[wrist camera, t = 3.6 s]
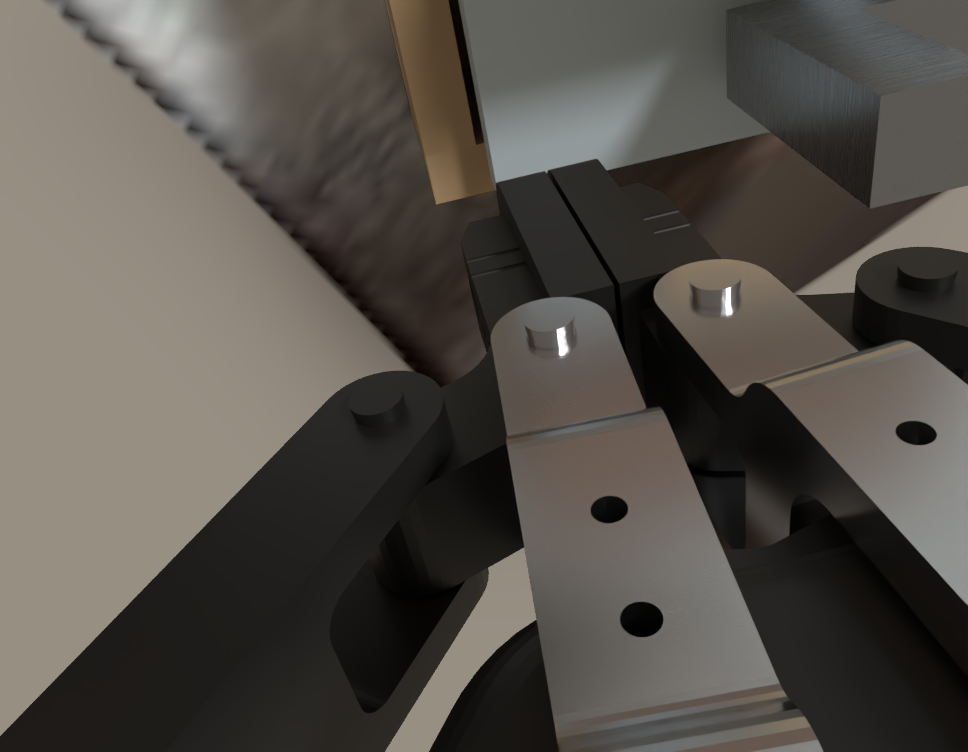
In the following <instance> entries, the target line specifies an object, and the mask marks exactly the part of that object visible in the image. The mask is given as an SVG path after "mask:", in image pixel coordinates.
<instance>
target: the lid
mask: <svg viewBox="0 0 968 752" xmlns="http://www.w3.org/2000/svg"><path fill="white" fill-rule="evenodd" d="M761 1H766V0H458V2H459V8H460V13H461V19H462V24H463V29H464V35H465V40H466V46H467V51H468V56H469V62H470V67H471V73H472V78H473V83H474V89H475V94H476V100H477V105H478V111H479V116H480V121H481V127H482V132H483V138H484V143H485V148H486V154H487V159H488V165H489V170H490V176H491V180H492V182H493V185H494V187H495V189H496V183H497V182H500V181H505V180H509V179H513V178H517V177H521V176H526V175H530V174H534V173H538V172H543V171H545V172H546V173H547V171H548V170H550V169H555V168H559V167H563V166H567V165H572V164H576V163H580V162H584V161H588V160H593V159H598V160H599V161H600V162H601V164H602V165H603V166H604V168H605V169H606V170H611V169H615V168H619V167H623V166H628V165H632V164H636V163H640V162H645V161H649V160H653V159H657V158H661V157H666V156H670V155H674V154H678V153H683V152H687V151H691V150H695V149H700V148H704V147H708V146H712V145H717V144H721V143H725V142H729V141H734V140H738V139H742V138H746V137H751V136H755V135H759V134H763V133H768V132H770V131H769V130H767V129H766V128H765V127H764V126H762V125H761V124H760V123H758V122H757V121H756V120H754V119H753V118H752V117H751V116H749V115H748V114H747V113H745V112H744V111H743V110H742V109H740V108H739V107H738V106H736V105H735V104H734V103H733V102H731V101H730V100H729V99H727V69H726V10H727V9H731V8H735V7H740V6H744V5H748V4H753V3H757V2H761ZM496 192H497V191H496Z"/></svg>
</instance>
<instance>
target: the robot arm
mask: <svg viewBox="0 0 968 752" xmlns="http://www.w3.org/2000/svg"><path fill="white" fill-rule="evenodd" d="M496 191H497V199H498V204H499V210H500V216H496V217H492V218H488V219H484V220H479V221H475V222H471V223H469V225H468V227H467V229H466V232H465V234H464V236H463V238H462V240H461V246H462V251H463V255H464V260H465V264H466V269H467V274H468V278H469V283H470V288H471V292H472V297H473V301H474V306H475V311H476V315H477V320H478V324H479V329H480V332H481V336H482V339H483V342H484V345H485V348H486V352H487V354H486V355H485V357H484V358H483V360H482V361H481V362H480V363H479V364H478V365H477V366H476V367H475V368H474V369H473V370H472V371H470V372H469V373H467V374H466V375H464V376H463V377H461V378H460V379H458V380H456V381H454V382H452V383H450V384H448V385H446V386H444V387H442V388H440V387H439V385H438V384H437V383H436V382H435V381H434V380H432V379H431V378H429V377H427V376H425V375H423V374H420V373H416V372H410V371H389V372H382V373H377V374H373V375H370V376H366V377H363V378H361V379H359V380H356V381H354V382H352V383H350V384H349V385H346V386H345V387H343V388H342V389H340V390H339V391H337V392H336V393H335V394H334V395H333V396H332V397H330V398H329V399H328V400H327V402H325V403H324V405H322V407H321V408H320V409H319V410H318V411H317V412H316V413H315V414H314V415H313V416H312V417H311V418H310V419H309V420H308V421H307V422H306V423H305V424H304V425H303V426H302V427H301V428H300V429H299V430H298V431H297V432H296V433H295V434H294V435H293V436H292V437H291V438H290V439H289V440H288V441H287V442H286V443H285V444H284V446H283V447H282V448H281V449H280V450H279V451H278V452H277V453H276V454H275V455H274V456H273V457H272V458H271V459H270V460H269V461H268V462H267V463H266V464H265V465H264V466H263V467H262V468H261V469H260V470H259V471H258V472H257V473H256V474H255V475H254V476H253V477H252V478H251V479H250V480H249V481H248V483H246V485H245V486H244V487H243V488H242V489H241V490H240V491H239V492H238V493H237V494H236V495H235V496H234V497H233V498H232V499H231V500H230V501H229V502H228V503H227V504H226V505H225V506H224V507H223V508H222V509H221V510H220V511H219V512H218V513H217V514H216V515H215V516H214V517H213V518H212V519H211V521H209V522H208V524H207V525H206V526H205V527H204V528H203V529H202V530H201V531H200V532H199V533H198V534H197V535H196V536H195V537H194V538H193V539H192V540H191V541H190V542H189V543H188V544H187V545H186V546H185V547H184V548H183V549H182V550H181V551H180V552H179V553H178V554H177V555H176V557H174V558H173V559H172V561H171V562H170V563H169V564H168V565H167V566H166V567H165V568H164V569H163V570H162V571H161V572H160V573H159V574H158V575H157V576H156V577H155V578H154V579H153V580H152V581H151V582H150V583H149V584H148V585H147V586H146V587H145V588H144V589H143V590H142V592H140V593H139V594H138V595H137V597H135V598H134V599H133V600H132V602H131V603H130V604H129V605H128V606H127V607H126V608H125V609H124V610H123V611H122V612H121V613H120V614H119V615H118V616H117V617H116V618H115V619H114V620H113V621H112V622H111V623H110V624H109V625H108V626H107V627H106V628H105V629H104V630H103V631H102V632H101V633H100V634H99V635H98V637H96V638H95V640H94V641H93V642H92V643H91V644H90V645H89V646H88V647H87V648H86V649H85V650H84V651H83V652H82V653H81V654H80V655H79V656H78V657H77V658H76V659H75V660H74V661H73V662H72V663H71V664H70V665H69V666H68V667H67V668H66V669H65V670H64V671H63V672H62V673H61V674H60V675H59V676H58V677H57V679H56V680H55V681H54V682H53V683H52V684H51V685H50V686H49V687H48V688H47V689H46V690H45V691H44V692H43V693H42V694H41V695H40V696H39V697H38V698H37V699H36V700H35V701H34V702H33V703H32V704H31V705H30V706H29V707H28V708H27V709H26V710H25V711H24V712H23V714H21V715H20V716H19V718H18V719H17V720H16V721H15V722H14V723H13V724H12V725H11V726H10V727H9V728H8V729H7V730H6V731H5V732H4V733H3V734H2V735H1V736H0V752H385V750H386V749H387V747H388V745H389V744H390V742H391V741H392V739H393V738H394V736H395V734H396V733H397V731H398V730H399V728H400V726H401V725H402V723H403V721H404V720H405V718H406V717H407V715H408V713H409V712H410V710H411V709H412V707H413V705H414V704H415V702H416V700H417V699H418V697H419V696H420V694H421V693H422V691H423V689H424V688H425V686H426V685H427V683H428V681H429V680H430V678H431V676H432V675H433V673H434V672H435V670H436V669H437V667H438V665H439V664H440V662H441V660H442V659H443V657H444V656H445V654H446V652H447V651H448V649H449V648H450V646H451V644H452V643H453V641H454V640H455V638H456V636H457V635H458V633H459V631H460V630H461V628H462V627H463V625H464V624H465V622H466V620H467V618H468V617H469V616H470V614H471V612H472V611H473V609H474V607H475V606H476V604H477V603H478V601H479V600H480V598H481V596H482V595H483V592H484V591H485V588H486V586H487V582H488V574H489V572H488V567H490V566H492V565H493V564H495V563H497V562H499V561H500V560H502V559H504V558H506V557H508V556H509V555H511V554H513V553H515V552H516V551H518V550H520V549H522V548H525V554H526V559H527V565H528V572H529V578H530V583H531V590H532V595H533V601H534V607H535V613H536V619H537V620H535V621H534V622H532V623H531V624H529V625H528V626H526V627H525V628H523V629H522V630H520V631H519V632H517V633H516V634H515V635H514V636H512V637H511V638H510V639H509V640H508V641H507V642H505V643H504V644H503V645H502V646H501V647H500V648H498V649H497V650H496V651H495V653H493V655H492V656H491V657H490V658H489V659H488V660H487V661H486V662H485V663H484V664H483V665H482V666H481V667H480V669H479V670H478V671H477V672H476V674H475V675H474V676H473V678H472V679H471V681H470V682H469V683H468V685H467V686H466V687H465V689H464V690H463V692H462V693H461V695H460V696H459V698H458V700H457V701H456V703H455V705H454V707H453V708H452V710H451V712H450V714H449V716H448V717H447V719H446V721H445V723H444V725H443V727H442V729H441V731H440V732H439V734H438V736H437V738H436V740H435V741H434V743H433V745H432V747H431V749H430V751H429V752H968V253H965V252H960V251H955V250H950V249H943V248H934V247H909V248H901V249H895V250H890V251H887V252H883V253H881V254H878V255H876V256H874V257H872V258H870V259H868V260H867V261H866V262H864V263H863V264H862V265H861V266H860V268H859V269H858V271H857V275H856V284H855V293H842V294H841V293H839V294H821V295H820V294H819V295H795V294H793V293H792V292H791V291H790V290H789V289H788V288H787V287H785V286H784V285H783V284H782V283H781V282H780V281H779V280H778V279H776V278H775V277H774V276H773V275H772V274H771V273H769V272H768V271H766V270H765V269H763V268H761V267H759V266H757V265H754V264H751V263H748V262H743V261H738V260H729V259H721V258H720V257H719V256H718V254H717V253H716V252H715V251H714V250H713V249H712V247H711V246H710V245H709V244H708V243H707V242H706V240H705V239H704V238H703V237H702V236H701V235H700V233H699V232H698V231H697V230H696V229H695V228H694V226H693V225H692V226H690V222H689V221H688V219H687V218H686V217H685V216H684V215H683V214H682V212H680V213H679V209H678V208H677V207H676V205H675V204H674V203H673V202H672V201H671V200H670V199H669V197H668V196H667V195H666V194H665V193H663V192H661V191H659V190H656V189H654V188H651V187H649V186H646V185H644V184H642V183H639V182H638V183H634V184H630V185H626V186H622V187H619V186H618V185H617V184H616V182H615V181H614V180H613V178H612V177H611V176H610V174H609V173H608V172H607V170H606V169H605V168H604V166H603V165H602V164H601V162H600V161H599V160H598V159H593V160H588V161H584V162H580V163H576V164H572V165H567V166H563V167H559V168H555V169H550V170H548V171H547V173H546V172H545V171H543V172H538V173H534V174H530V175H526V176H521V177H517V178H513V179H509V180H505V181H500V182H497V183H496Z"/></svg>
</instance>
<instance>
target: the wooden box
mask: <svg viewBox="0 0 968 752" xmlns="http://www.w3.org/2000/svg"><path fill="white" fill-rule="evenodd" d="M385 3H386V7H387V12H388V16H389V20H390V24H391V29H392V33H393V37H394V42H395V46H396V50H397V55H398V59H399V63H400V67H401V72H402V76H403V80H404V85H405V89H406V93H407V97H408V102H409V106H410V110H411V114H412V118H413V122H414V125H415V129H416V132H417V136H418V140H419V143H420V147H421V151H422V154H423V158H424V162H425V165H426V169H427V173H428V176H429V180H430V184H431V187H432V191H433V194H434V198H435V202H436V204H440V203H444V202H449V201H453V200H457V199H461V198H466V197H470V196H474V195H478V194H483V193H487V192H491V191H495V190H496V189H495V187H494V185H493V182H492V180H491V176H490V170H489V165H488V159H487V154H486V148H485V143H484V138H483V132H482V127H481V121H480V116H479V111H478V105H477V100H476V94H475V89H474V83H473V78H472V73H471V67H470V62H469V56H468V51H467V46H466V40H465V35H464V29H463V24H462V19H461V13H460V8H459V2H458V0H385Z"/></svg>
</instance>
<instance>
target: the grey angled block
mask: <svg viewBox="0 0 968 752" xmlns="http://www.w3.org/2000/svg"><path fill="white" fill-rule="evenodd" d="M726 69H727V99H729V100H730V101H731V102H733V103H734V104H735V105H736V106H738V107H739V108H740V109H742V110H743V111H744V112H745V113H747V114H748V115H749V116H751V117H752V118H753V119H754V120H756V121H757V122H758V123H760V124H761V125H762V126H764V127H765V128H766V129H767V130H769V131H770V132H771V133H773V134H774V135H775V136H776V137H778V138H779V139H780V140H782V141H783V142H784V143H785V144H787V145H788V146H789V147H791V148H792V149H793V150H795V151H796V152H797V153H798V154H800V155H801V156H802V157H804V158H805V159H806V160H807V161H809V162H810V163H811V164H813V165H814V166H815V167H816V168H818V169H819V170H820V171H822V172H823V173H824V174H826V175H827V176H828V177H829V178H831V179H832V180H833V181H835V182H836V183H837V184H838V185H840V186H841V187H842V188H844V189H845V190H846V191H848V192H849V193H850V194H851V195H853V196H854V197H855V198H857V199H858V200H859V201H860V202H862V203H863V204H864V205H866V206H867V207H868V208H869V209H870V208H874V207H879V206H883V205H887V204H891V203H895V202H900V201H904V200H908V199H912V198H916V197H921V196H925V195H929V194H933V193H937V192H942V191H946V190H950V189H954V188H958V187H962V186H967V185H968V0H766V1H761V2H757V3H753V4H748V5H744V6H740V7H735V8H731V9H727V10H726Z"/></svg>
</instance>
